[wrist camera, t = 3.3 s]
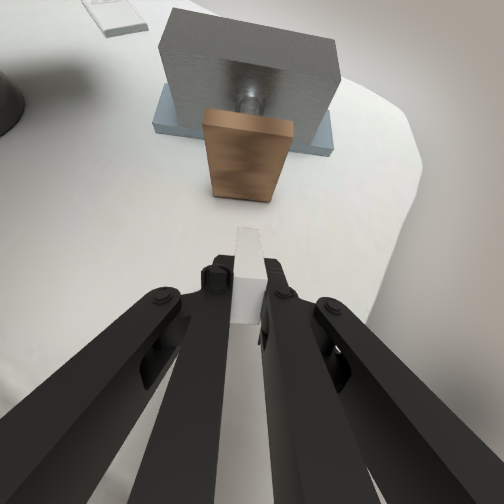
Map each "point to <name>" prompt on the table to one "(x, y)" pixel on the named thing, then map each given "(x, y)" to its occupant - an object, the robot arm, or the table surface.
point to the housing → (246, 76)
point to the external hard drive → (115, 17)
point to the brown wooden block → (245, 150)
